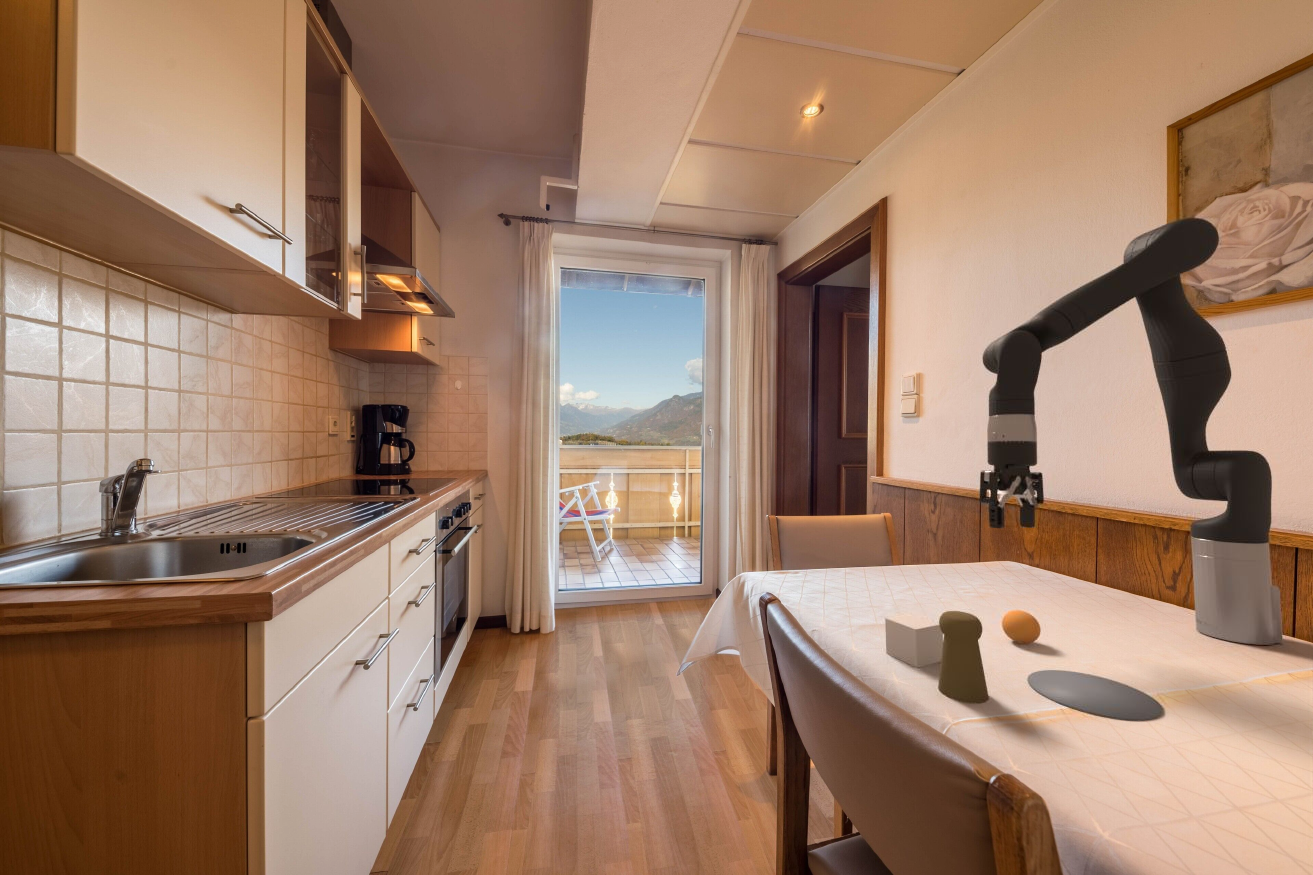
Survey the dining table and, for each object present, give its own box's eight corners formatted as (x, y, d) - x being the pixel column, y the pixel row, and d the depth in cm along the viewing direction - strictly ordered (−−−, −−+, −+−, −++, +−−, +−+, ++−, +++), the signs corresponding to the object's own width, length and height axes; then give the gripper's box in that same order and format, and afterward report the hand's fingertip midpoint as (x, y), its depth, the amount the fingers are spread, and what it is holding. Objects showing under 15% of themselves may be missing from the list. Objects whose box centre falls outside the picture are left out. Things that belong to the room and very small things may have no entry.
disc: (1115, 675, 74) (1115, 674, 74) (1194, 725, 60) (1194, 723, 60) (1009, 667, 77) (1009, 666, 77) (1061, 714, 63) (1061, 712, 63)
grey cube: (886, 654, 83) (884, 617, 83) (912, 648, 85) (910, 613, 86) (917, 667, 77) (915, 629, 78) (944, 661, 80) (942, 623, 80)
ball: (1031, 637, 89) (1029, 606, 89) (1048, 649, 84) (1046, 616, 84) (996, 635, 90) (995, 605, 90) (1011, 647, 85) (1010, 614, 85)
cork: (997, 705, 65) (993, 621, 66) (947, 701, 67) (944, 618, 67) (977, 684, 71) (974, 607, 72) (931, 681, 73) (929, 605, 73)
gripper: (1006, 437, 86) (1007, 531, 85) (1058, 441, 91) (1059, 529, 90) (965, 439, 93) (966, 525, 92) (1015, 442, 98) (1016, 524, 97)
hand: (1012, 527), depth 91 cm, fingers open, 8 cm apart
